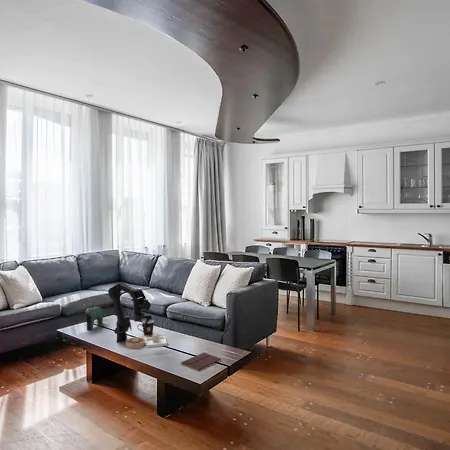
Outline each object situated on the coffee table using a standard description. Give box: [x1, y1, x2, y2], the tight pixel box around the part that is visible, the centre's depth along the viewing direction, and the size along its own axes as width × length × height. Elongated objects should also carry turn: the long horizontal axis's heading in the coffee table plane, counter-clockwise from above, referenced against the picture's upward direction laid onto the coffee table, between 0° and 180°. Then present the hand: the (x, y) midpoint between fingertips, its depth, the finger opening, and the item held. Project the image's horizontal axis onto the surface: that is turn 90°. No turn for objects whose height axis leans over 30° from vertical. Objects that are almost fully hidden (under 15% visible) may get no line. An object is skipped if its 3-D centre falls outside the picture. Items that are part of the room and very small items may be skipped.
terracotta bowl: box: [125, 336, 146, 349], centre depth 253 cm, size 13×13×4 cm
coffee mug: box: [136, 319, 155, 336], centre depth 275 cm, size 12×9×10 cm
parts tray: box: [144, 335, 168, 348], centre depth 257 cm, size 14×15×2 cm
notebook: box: [180, 352, 222, 372], centre depth 225 cm, size 15×20×2 cm
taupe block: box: [151, 333, 159, 342], centre depth 260 cm, size 4×5×4 cm
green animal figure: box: [84, 302, 104, 331], centre depth 295 cm, size 20×6×20 cm, turn 167°
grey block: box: [132, 337, 139, 344], centre depth 251 cm, size 4×5×4 cm
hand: (138, 330), depth 252 cm, fingers open, 9 cm apart
